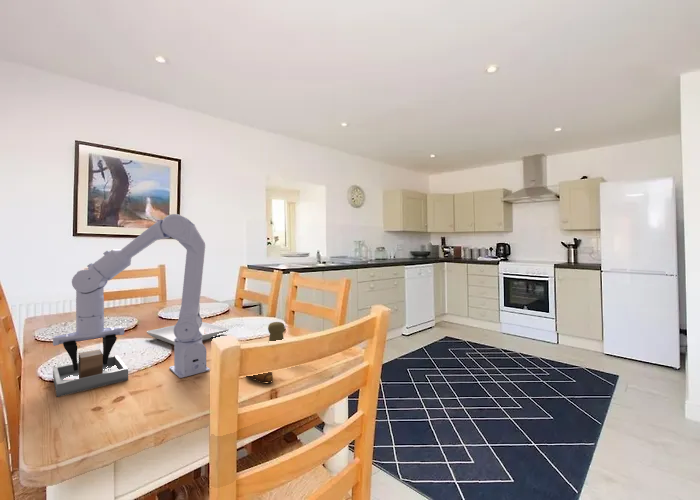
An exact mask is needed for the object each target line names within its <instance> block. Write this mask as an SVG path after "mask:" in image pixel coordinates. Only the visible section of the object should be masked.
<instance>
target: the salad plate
mask: <svg viewBox="0 0 700 500" xmlns="http://www.w3.org/2000/svg"><path fill="white" fill-rule="evenodd" d="M175 325H176V324H174V325H170V326H165V327H161V328H160V327H159V328H157V329H156V328H155V329H151V330H146V333H147V335H148V336H150V337H152V338H154V339H157V340H159V341H162V342H165V343H168V344H170V345H173V346H174V338H175V337H176V336H175V335H174V327H175ZM205 328H210V329H218V330H223V331H219V332H214V333H209V334H204V329H205ZM199 331H200V332H201V334H202V342H203V341H208V340H211V339H212V338H211V337H213V336H217V334H219V333H223V332H226V331H227V332H229V328H227V327H224V326H220V325H217V324H213V323H208V322H206V321H205V322H204V321H202V325H201V327H200V328H199ZM227 332H226V333H227ZM217 337H218V336H217ZM210 338H211V339H210Z"/></svg>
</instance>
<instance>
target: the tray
mask: <svg viewBox="0 0 700 500" xmlns="http://www.w3.org/2000/svg"><path fill="white" fill-rule="evenodd" d="M77 363H78V370H77V371H74V369H73V363H70V364H64V365H59V366H54V367H52V379H53V378H54V381H53V386H54V389H55V395H56V398H59V397H60V398H61V397H63V396H68V395H72V394H76V393H80V392H84V391H88V390H92V389H97V388H100V387H105V386H109V385H114V384H117V383H120V382H121V383H122V382H125V381H129V368H128V366H127V365H126V364H125V362H124V361H123V360H122V359H121V358H120V356H119V355H118V354H116V355H112V356H111V355H109V357H108V361H107V364H106V365H104V364H103V369H104V370H103V373H102V374H97V375H92V376H88V377H83V378H79V379H74V380H63V379H64V378H66V377H68V376H69V377H70V375H73V376H78V375H79V362H77ZM114 365H116V366H117V368H118V369H119V370H115V371H111V369H110V371H109V369H108V372H107V371H105V369H107V368H111V367H112V366H114ZM107 366H108V367H107ZM106 367H107V368H106Z"/></svg>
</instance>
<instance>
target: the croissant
mask: <svg viewBox="0 0 700 500" xmlns="http://www.w3.org/2000/svg"><path fill="white" fill-rule="evenodd" d="M247 378H249V379H251V380H253V379H256V380H255V381H257V382H258V381H260V382H259V383H262V382H271V381H272V382H273V380H274V378H273V371H272V372H268V373H263V374H258V375H253V376H247ZM272 382H271V383H272Z"/></svg>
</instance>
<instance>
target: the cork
mask: <svg viewBox="0 0 700 500" xmlns="http://www.w3.org/2000/svg"><path fill="white" fill-rule="evenodd" d="M285 329H286V327H285V323H283V322H281V321H273V322H270V323H269V325H268V326H267V330H268V333H269V337H268V342H269V341H276V340H282V339H284V332H285ZM284 340H285V339H284Z"/></svg>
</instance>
